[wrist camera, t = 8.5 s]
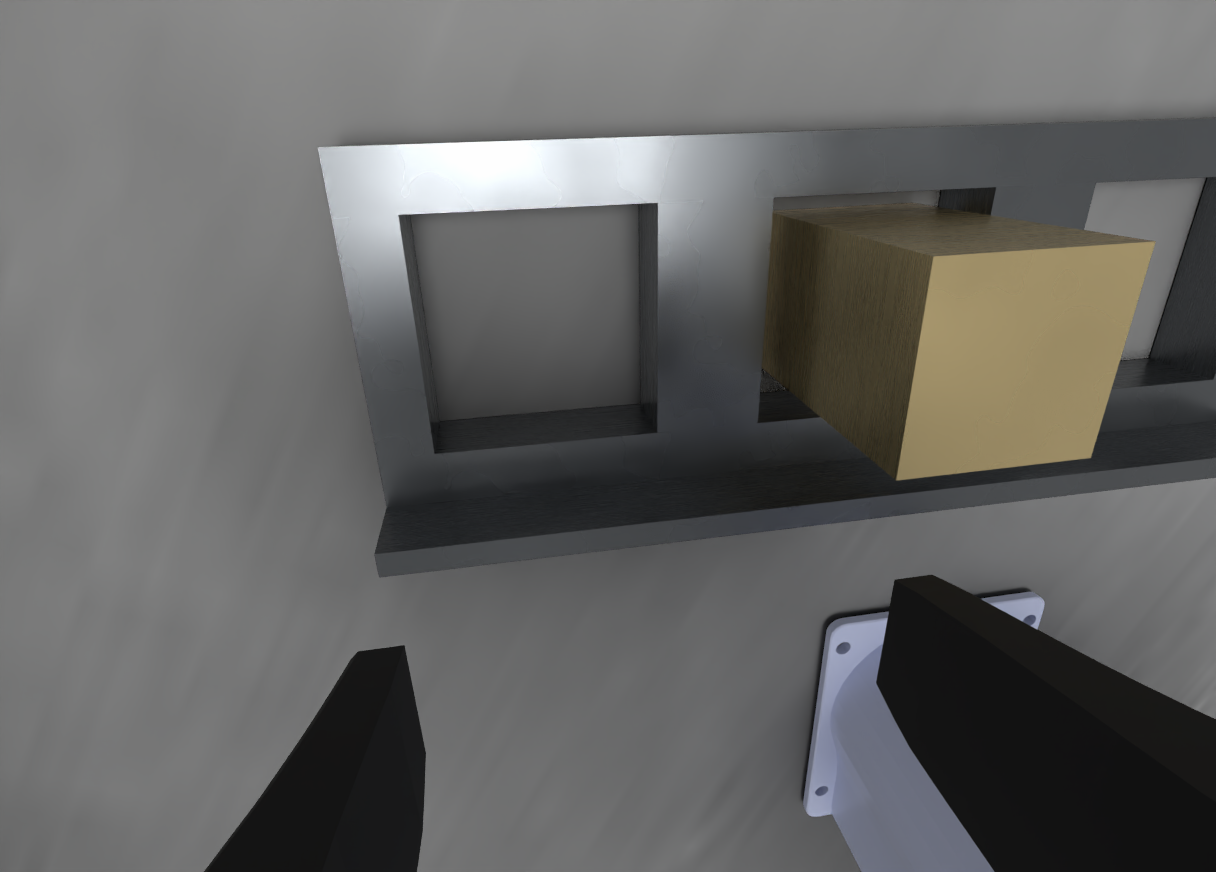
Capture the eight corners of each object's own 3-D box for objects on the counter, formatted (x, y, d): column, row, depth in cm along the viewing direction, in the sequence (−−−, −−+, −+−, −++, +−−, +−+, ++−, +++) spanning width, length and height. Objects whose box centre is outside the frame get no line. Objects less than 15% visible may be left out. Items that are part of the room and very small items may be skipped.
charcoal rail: (1166, 411, 21) (1303, 466, 18) (400, 490, 18) (379, 577, 15) (1268, 116, 18) (1465, 111, 14) (338, 145, 15) (290, 149, 11)
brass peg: (889, 351, 19) (1090, 458, 13) (755, 362, 18) (896, 481, 12) (912, 202, 17) (1155, 241, 11) (765, 210, 17) (933, 255, 10)
